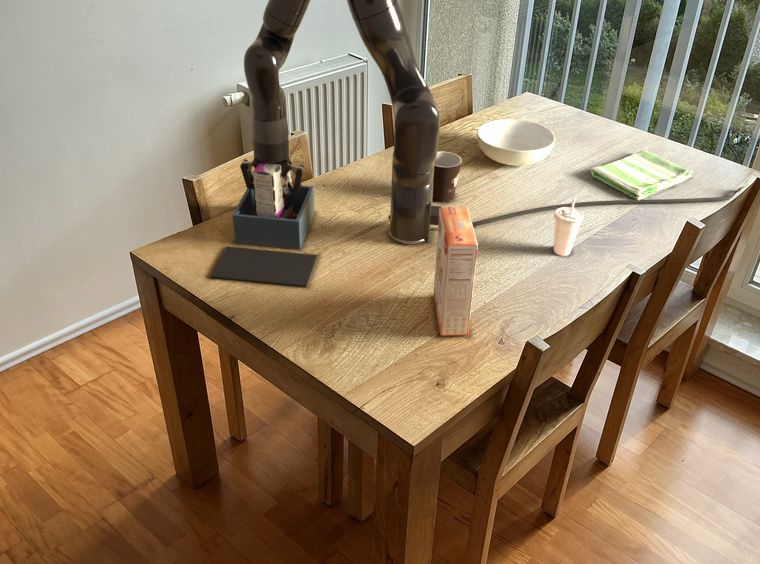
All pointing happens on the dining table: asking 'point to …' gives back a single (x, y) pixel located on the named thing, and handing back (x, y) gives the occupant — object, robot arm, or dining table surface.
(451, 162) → the coffee mug
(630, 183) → the dish towel
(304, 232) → the open storage bin
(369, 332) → the dining table surface
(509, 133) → the serving bowl
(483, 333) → the dining table surface
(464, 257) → the cracker box
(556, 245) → the smoothie
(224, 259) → the rubber mat
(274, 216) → the candy bar box
